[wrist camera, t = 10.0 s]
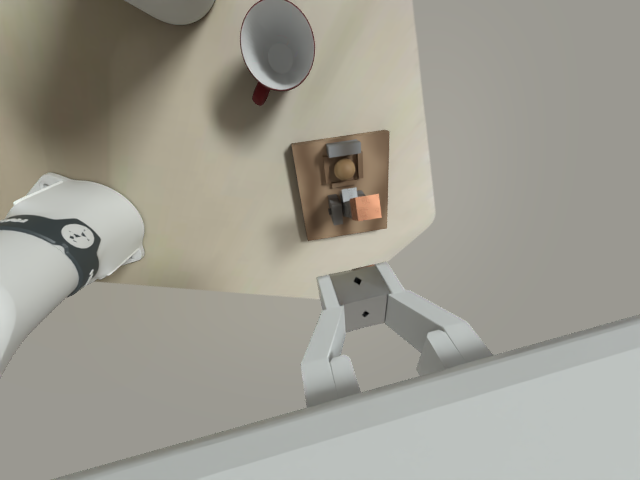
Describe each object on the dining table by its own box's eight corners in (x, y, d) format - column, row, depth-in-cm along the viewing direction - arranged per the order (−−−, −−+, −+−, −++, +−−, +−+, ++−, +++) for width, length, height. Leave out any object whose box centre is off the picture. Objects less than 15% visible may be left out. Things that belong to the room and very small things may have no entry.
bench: (307, 235, 50) (309, 255, 44) (291, 143, 41) (291, 151, 35) (383, 223, 51) (396, 241, 45) (385, 129, 41) (401, 135, 35)
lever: (341, 217, 43) (358, 221, 29) (338, 191, 42) (353, 181, 28) (357, 215, 43) (381, 217, 29) (354, 188, 42) (376, 178, 28)
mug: (290, 118, 39) (290, 124, 30) (239, 92, 37) (224, 92, 28) (318, 42, 35) (327, 25, 26) (262, 8, 32) (253, -24, 24)
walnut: (337, 180, 43) (341, 186, 40) (329, 162, 41) (332, 167, 38) (355, 170, 42) (360, 176, 39) (347, 152, 41) (352, 156, 38)
